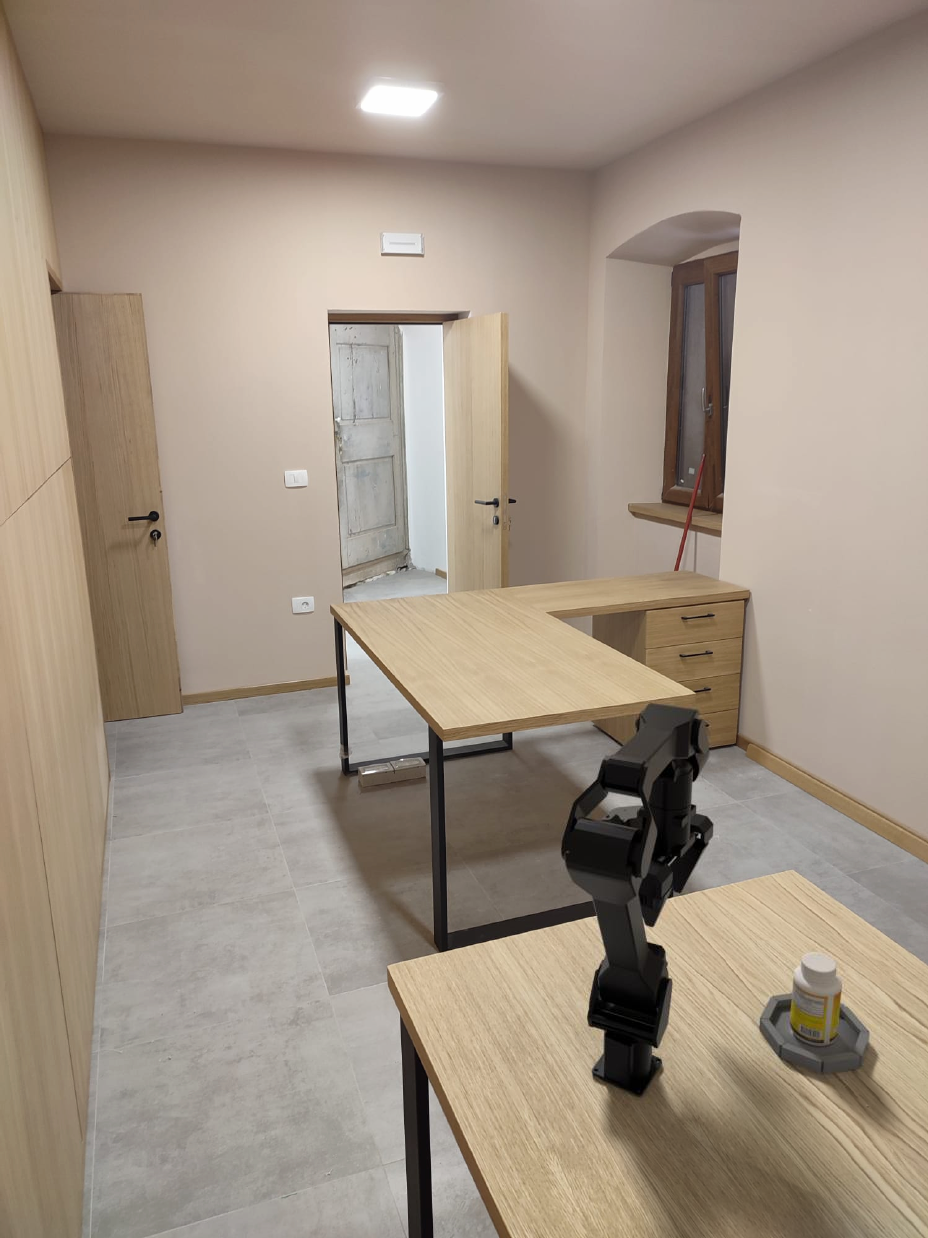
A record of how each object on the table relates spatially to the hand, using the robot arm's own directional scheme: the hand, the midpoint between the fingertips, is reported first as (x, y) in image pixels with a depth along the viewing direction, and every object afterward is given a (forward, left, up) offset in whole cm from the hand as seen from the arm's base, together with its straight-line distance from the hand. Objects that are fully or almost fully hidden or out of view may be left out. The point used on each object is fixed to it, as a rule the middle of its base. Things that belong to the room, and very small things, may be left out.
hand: (663, 908), depth 114 cm
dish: (+3, -19, -13) cm, 23 cm away
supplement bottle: (+3, -19, -13) cm, 23 cm away
